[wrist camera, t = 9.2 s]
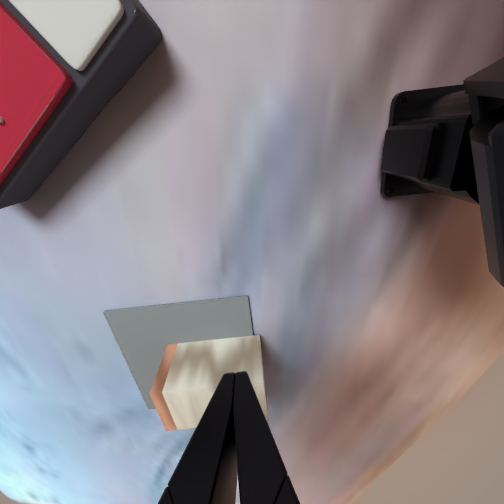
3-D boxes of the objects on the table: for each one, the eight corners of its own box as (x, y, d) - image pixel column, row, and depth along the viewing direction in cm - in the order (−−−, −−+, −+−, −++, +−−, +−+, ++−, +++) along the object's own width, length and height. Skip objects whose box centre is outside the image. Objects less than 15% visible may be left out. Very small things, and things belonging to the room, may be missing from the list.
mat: (247, 295, 22) (247, 297, 21) (261, 395, 28) (261, 398, 27) (105, 310, 22) (103, 312, 22) (149, 406, 28) (148, 409, 28)
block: (263, 382, 19) (149, 393, 19) (268, 420, 21) (166, 430, 21) (259, 334, 23) (167, 344, 24) (264, 370, 26) (179, 379, 26)
